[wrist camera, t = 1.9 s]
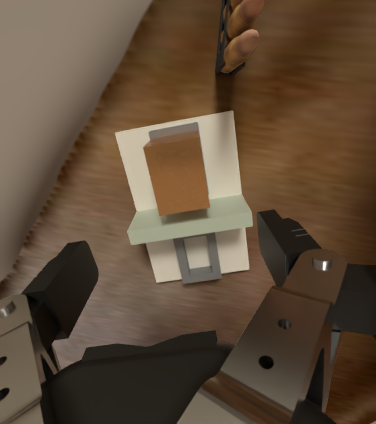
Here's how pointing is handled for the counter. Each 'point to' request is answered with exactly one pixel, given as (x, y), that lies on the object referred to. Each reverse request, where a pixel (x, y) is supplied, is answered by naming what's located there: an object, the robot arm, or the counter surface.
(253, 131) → the counter surface
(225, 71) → the ammunition clip
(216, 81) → the counter surface
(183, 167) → the orange brown block
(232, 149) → the plate
